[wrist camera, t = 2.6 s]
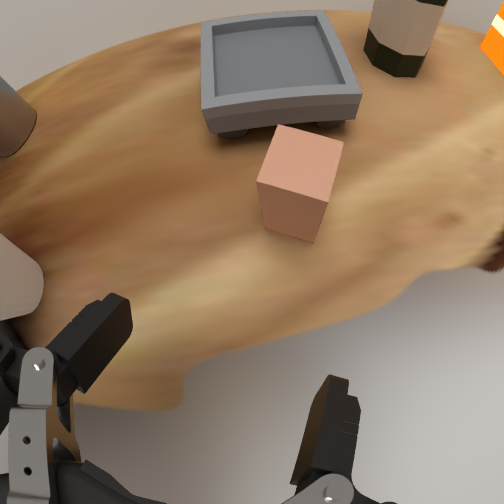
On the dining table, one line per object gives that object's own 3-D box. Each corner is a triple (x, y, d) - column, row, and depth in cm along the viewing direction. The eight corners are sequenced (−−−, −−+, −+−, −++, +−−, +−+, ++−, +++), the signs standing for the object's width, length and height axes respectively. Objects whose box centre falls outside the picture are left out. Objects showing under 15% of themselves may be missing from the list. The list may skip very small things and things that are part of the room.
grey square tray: (216, 149, 31) (201, 109, 25) (212, 62, 35) (201, 22, 28) (349, 135, 30) (362, 93, 24) (320, 50, 34) (324, 10, 27)
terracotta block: (313, 243, 28) (328, 202, 19) (265, 228, 29) (256, 181, 19) (326, 198, 29) (343, 142, 19) (280, 184, 30) (278, 124, 20)
